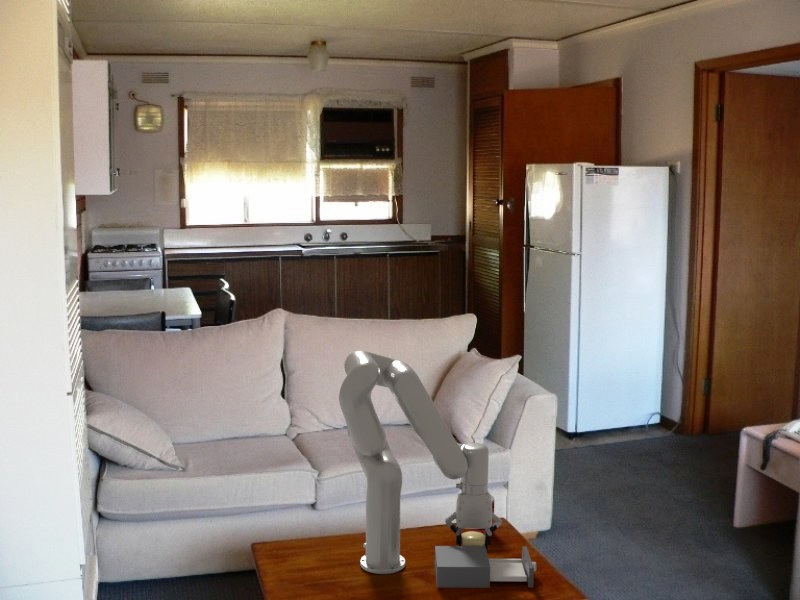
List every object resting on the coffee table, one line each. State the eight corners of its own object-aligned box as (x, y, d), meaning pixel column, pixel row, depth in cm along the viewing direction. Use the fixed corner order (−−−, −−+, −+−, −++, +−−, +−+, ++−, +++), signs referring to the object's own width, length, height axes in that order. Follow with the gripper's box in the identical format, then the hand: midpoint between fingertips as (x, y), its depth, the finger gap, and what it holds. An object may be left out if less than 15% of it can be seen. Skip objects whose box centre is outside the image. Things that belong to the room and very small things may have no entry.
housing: (436, 587, 247) (437, 566, 246) (434, 565, 260) (435, 545, 259) (489, 587, 247) (490, 567, 246) (484, 565, 260) (485, 546, 259)
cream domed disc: (455, 540, 266) (456, 534, 266) (476, 535, 269) (476, 529, 269) (469, 549, 260) (470, 543, 260) (490, 544, 264) (490, 538, 263)
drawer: (478, 587, 247) (479, 567, 246) (474, 564, 260) (474, 546, 259) (539, 587, 247) (539, 568, 246) (531, 564, 260) (532, 546, 260)
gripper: (444, 492, 258) (443, 552, 261) (506, 492, 258) (505, 553, 261) (442, 482, 266) (441, 541, 269) (503, 482, 266) (502, 541, 269)
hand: (473, 546), depth 265 cm, fingers closed on cream domed disc, 7 cm apart
